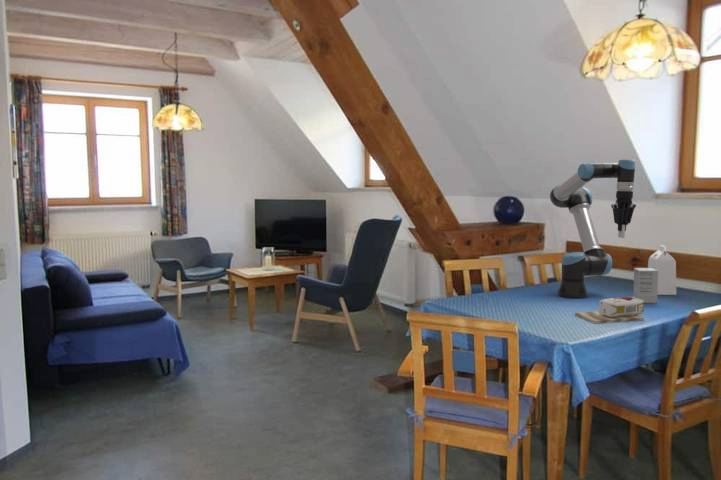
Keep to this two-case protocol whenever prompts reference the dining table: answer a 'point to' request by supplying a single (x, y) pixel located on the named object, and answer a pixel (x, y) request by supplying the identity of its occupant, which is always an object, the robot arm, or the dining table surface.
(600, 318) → the wooden board
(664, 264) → the milk
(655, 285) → the supplement box
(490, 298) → the dining table surface
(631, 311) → the juice carton
